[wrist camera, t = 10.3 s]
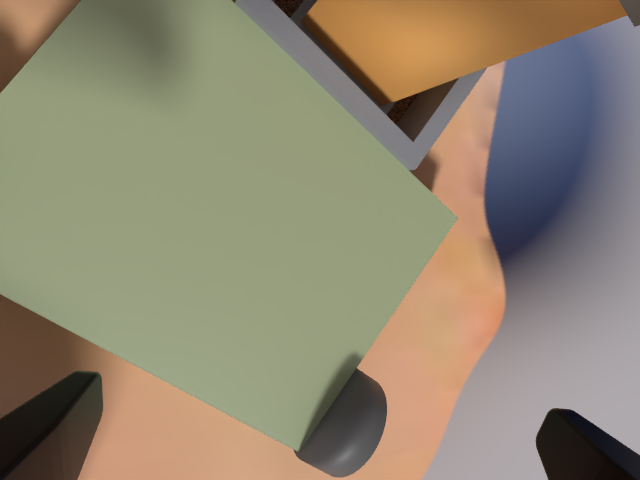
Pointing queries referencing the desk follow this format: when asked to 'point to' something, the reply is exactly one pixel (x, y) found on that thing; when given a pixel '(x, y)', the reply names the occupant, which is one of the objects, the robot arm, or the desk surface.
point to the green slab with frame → (220, 210)
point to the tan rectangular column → (441, 36)
